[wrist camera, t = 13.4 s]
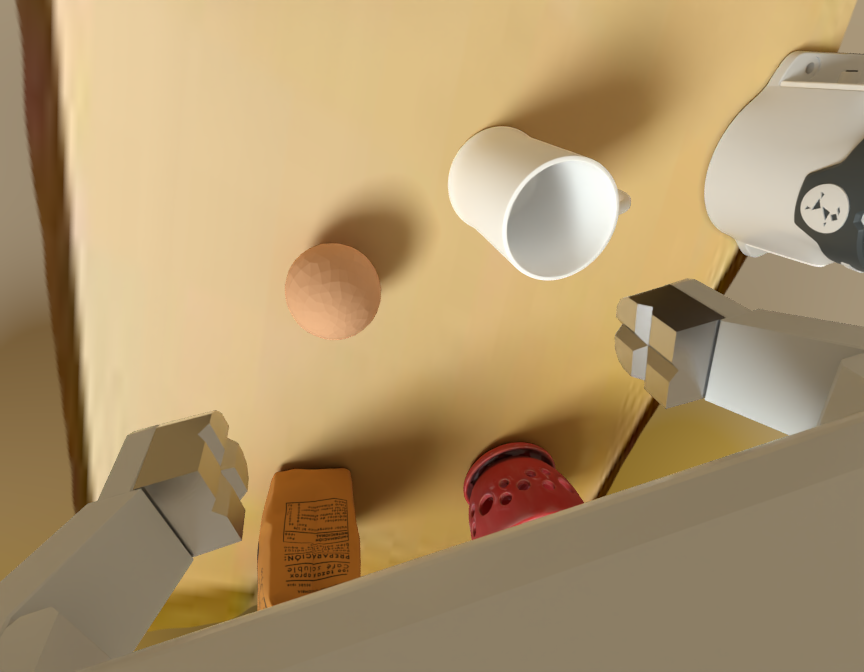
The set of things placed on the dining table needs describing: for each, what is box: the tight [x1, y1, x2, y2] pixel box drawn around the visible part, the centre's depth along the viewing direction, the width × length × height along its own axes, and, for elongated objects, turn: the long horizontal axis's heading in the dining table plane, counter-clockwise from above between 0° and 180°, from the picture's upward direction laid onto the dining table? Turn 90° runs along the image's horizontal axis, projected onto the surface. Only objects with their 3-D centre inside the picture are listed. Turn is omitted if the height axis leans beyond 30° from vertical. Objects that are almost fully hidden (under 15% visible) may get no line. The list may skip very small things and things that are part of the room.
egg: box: [285, 243, 381, 340], centre depth 37 cm, size 7×7×8 cm
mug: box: [448, 126, 631, 280], centre depth 35 cm, size 12×8×12 cm
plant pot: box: [464, 442, 584, 540], centre depth 54 cm, size 13×13×12 cm
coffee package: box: [257, 468, 361, 611], centre depth 44 cm, size 10×12×22 cm
